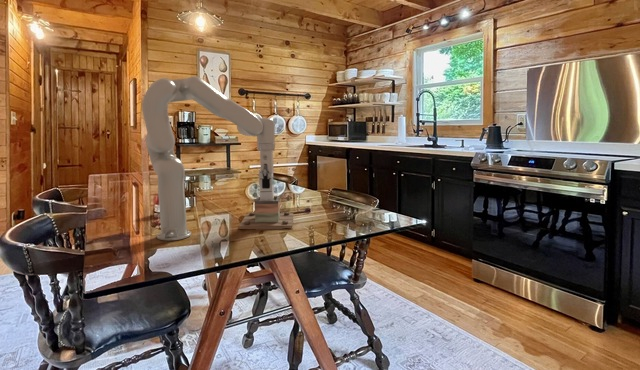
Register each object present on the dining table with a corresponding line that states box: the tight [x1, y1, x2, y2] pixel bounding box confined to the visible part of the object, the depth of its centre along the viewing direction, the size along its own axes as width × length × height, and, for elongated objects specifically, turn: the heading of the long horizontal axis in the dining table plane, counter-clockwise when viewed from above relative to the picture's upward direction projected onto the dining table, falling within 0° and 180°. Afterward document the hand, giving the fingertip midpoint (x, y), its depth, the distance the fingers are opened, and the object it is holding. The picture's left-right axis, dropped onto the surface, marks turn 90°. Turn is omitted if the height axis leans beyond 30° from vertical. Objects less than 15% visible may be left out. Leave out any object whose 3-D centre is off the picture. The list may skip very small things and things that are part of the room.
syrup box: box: [258, 168, 275, 201], centre depth 172 cm, size 6×6×14 cm
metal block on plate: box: [238, 196, 294, 230], centre depth 174 cm, size 22×22×11 cm
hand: (267, 186), depth 173 cm, fingers open, 9 cm apart
